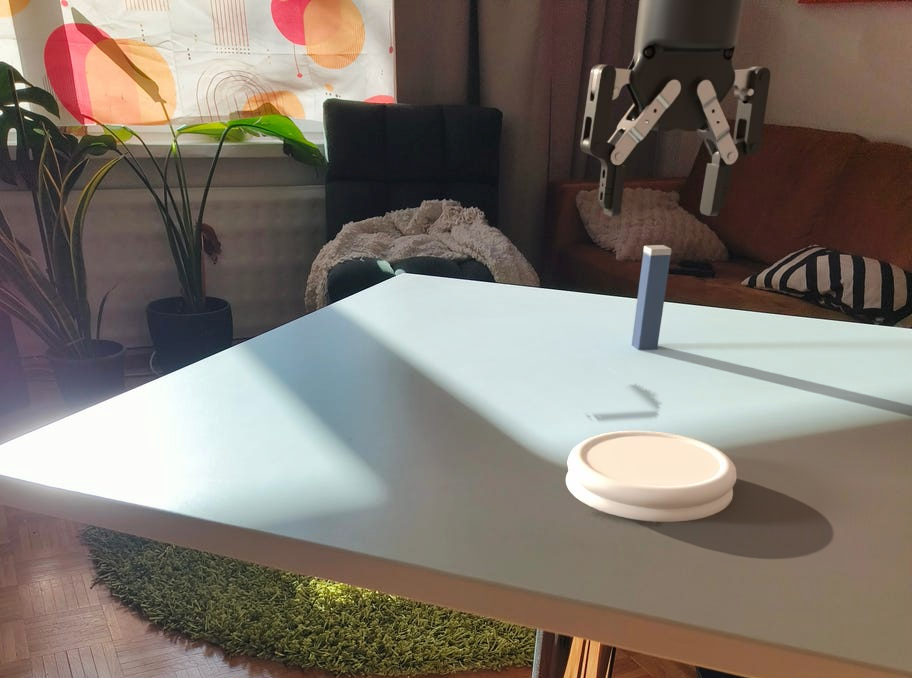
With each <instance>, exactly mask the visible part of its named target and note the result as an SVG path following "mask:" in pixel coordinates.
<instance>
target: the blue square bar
mask: <svg viewBox="0 0 912 678" xmlns="http://www.w3.org/2000/svg"><path fill="white" fill-rule="evenodd" d="M642 251H643V253H642V260H641V268H640V276H639V283H638V291H637V298H636V299H637V300H636V306H635V314H634V315H635V316H634V323H633V331H632V338H631V346H632V347H634V348H635V349H636V350H638V351H651V350H652V351H653V350H658V347H659V339H660V331H661V327H662V326H661V325H662V318H663V312H664V303H665V298H666V291H667V289H666V288H667V283H668V277H669V269H670V262H671V256H672V255H671V254H672V248H671V247H668V246H666V245H664V244H655V245H652V244H651V245H644V246H643V250H642Z"/></svg>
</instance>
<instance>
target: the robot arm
mask: <svg viewBox="0 0 912 678" xmlns="http://www.w3.org/2000/svg"><path fill="white" fill-rule="evenodd" d="M744 1H745V0H639V1H638V9H637V18H636V19H637V20H636V26H635V35H634V49H633V50H634V51H633V57H632V60H631V62H630V64H629V66H628V67H627V68H619V67H614V66H613V65H611V64H599V63H598V64H595V65H594V66H592V68H591V70H590V75H589V80H588V81H589V82H588V88H587V96H586V102H585V110H584V115H583V122H582V130H581V137H580V143H579V144H580V145H579V146H580V150H581V151H582V152H583V153H586V154H588V155H589V156H592V157H595V158H596V159H598V160H599V161H600V166H601V167H600V178H599V188H598V197H597V201H598V205H599V207H601V208H602V209H603V214H604V215H605V216H607V217H609V218H618V217H620V216H621V212H622V206H623V205H622V204H623V198H624V197H623V196H624V187H625V180H626V179H625V178H626V170H627V166H626V165H624V164H623V163H624V162H625V161H626V159H627V158H628V156H630V154H631V152H632V151H633V150H634V148H635V147H636V146H637V145H638V144H639V142H642V141H643V140H644V139H645V138H646V137H647V135H648V134H649V132H650V131H655V132H671V131H674V130H678V131H683V132H696V133H697V135H698V136H699V137H700V139H702V141H703V143H704V145H705V147H706V150H707V152H708V153H709V156H710V158H711V162H710V163H708V162H707V163H706V168H705V174H704V181H703V187H702V193H701V199H700V205H699V212H700V214H701V215H705V216H707V217H717V216H718V215H719V213H720V209H723V208H724V207H725V206H726V203H727V201H728V195H729V188H730V184H731V178H732V173H733V168H734V165H735V164H736V163H737V162H738V161H739V160H741V159H744V158H746V157H749V156H751V157H752V156H756V155H757V154H758V153H759V151H760V150H761V145H762V138H763V132H764V124H765V118H766V111H767V110H766V109H767V103H768V98H769V89H770V82H771V71H770V69H769V68H768V67H765V66H763V67H762V66H747V67H746V68H744V69H735V67H734V52H735V49H736V46H737V43H738V37H739V33H740V32H739V31H740V26H741V25H740V24H741V19H742V13H743V8H744ZM624 86H625V88H626V90H627V92H628V94H629V96H630V98H631V101H632V105H631V106H630V108H629V109H628V110H627V112H626V113H625V114H624V116H623V117H622V118H621V119H620V121H619V122H618V124H617V126H616V129H615V131H614V133H613V134H612V135H611V137H610V138H609V139H608V140H607V137H608V131H609V130H608V129H609V123H610V118H611V117H610V116H611V111H612V106H613V105H612V104H613V101H614V100H616V99H617V98H618V97H619V95H620V92H621V90H622V88H624ZM732 88H733V95H734V98H735V100H737V107H736V115H735V124H734V131H733V138H732V135H731V133H730V131H731V128H730V127H731V126H730V125H729V123H728V120H727V118H726V116H725V114H724V111H723V109H722V107H721V103H722V102H723V101H724V99H725V98H726V96H727V95H728V94H729V92H730V91H731V90H732Z"/></svg>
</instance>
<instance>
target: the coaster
mask: <svg viewBox="0 0 912 678" xmlns="http://www.w3.org/2000/svg"><path fill="white" fill-rule="evenodd" d="M567 470H568V471H567V473H566V477H565V484H566V487H567V489H568V491H569V492H570V493H571V494H572V495H573V496H574V498H575V499H577V500H579V501H580V502H581V503H583V504H586V505H587V506H589V507H591V508H594V509H595V510H597V511H600V512H603V513H606V514H610V515H613V516H617V517H621V518H625V519H629V520H635V521H636V520H637V521H644V522H655V523H656V522H658V523H660V522H661V523H675V522H688V521H694V520H700V519H704V518H707V517H711V516H713V515H715V514H717V513H720V512H721V511H723V510H724V509H726V508H727V507H728V506H729V505H730V504H731V502H732V501H733V498H734V497H733V496H734V491H733V489H734V488H733V487H734V486H735V484H736V482H737V477H738V476H737V469H736V466H735V464H734V462H733V461H732V459H730V458H729V456H728V455H726V454H725V453H724V452H723V451H721V450H720V449H718V448H717V447H714V446H713V445H711V444H708V443H706V442H705V441H704V442H703V441H702V440H701V441H700V440H699V439H695V438H691V437H689V436H684V435H680V434H676V433H675V434H674V433H670V432H669V433H668V432H660V431H653V430H652V431H651V430H620V431H612V432H607V433H601V434H598V435H595V436H591V437H589V438H587V439H584V440H583V441H581V442H580V443H579V444H577V445H575V446H574V447H573V449H572V450H571V451H570V454H569V455H568V458H567Z"/></svg>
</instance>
